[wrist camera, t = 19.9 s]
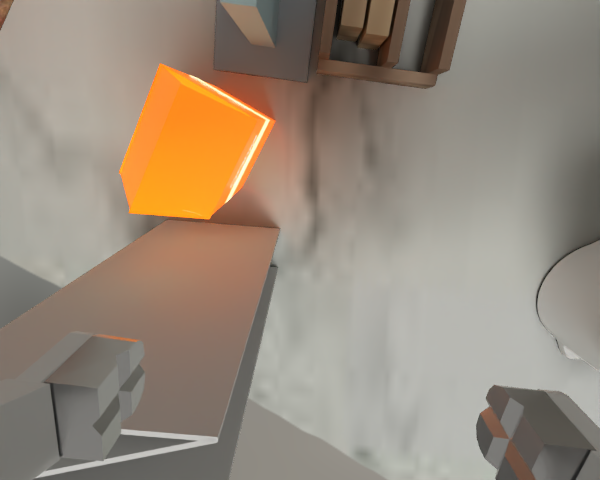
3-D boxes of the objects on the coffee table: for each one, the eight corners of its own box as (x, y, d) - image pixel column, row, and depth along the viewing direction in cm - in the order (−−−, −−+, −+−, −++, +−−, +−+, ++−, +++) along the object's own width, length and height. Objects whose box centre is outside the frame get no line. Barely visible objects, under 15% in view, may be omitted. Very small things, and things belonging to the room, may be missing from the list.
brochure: (168, 260, 44) (-86, 501, 16) (166, 219, 43) (-124, 408, 14) (277, 269, 44) (218, 527, 16) (280, 228, 43) (217, 437, 14)
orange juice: (183, 156, 40) (69, 184, 21) (214, 84, 38) (116, 43, 19) (243, 189, 41) (185, 243, 22) (277, 121, 39) (245, 117, 20)
